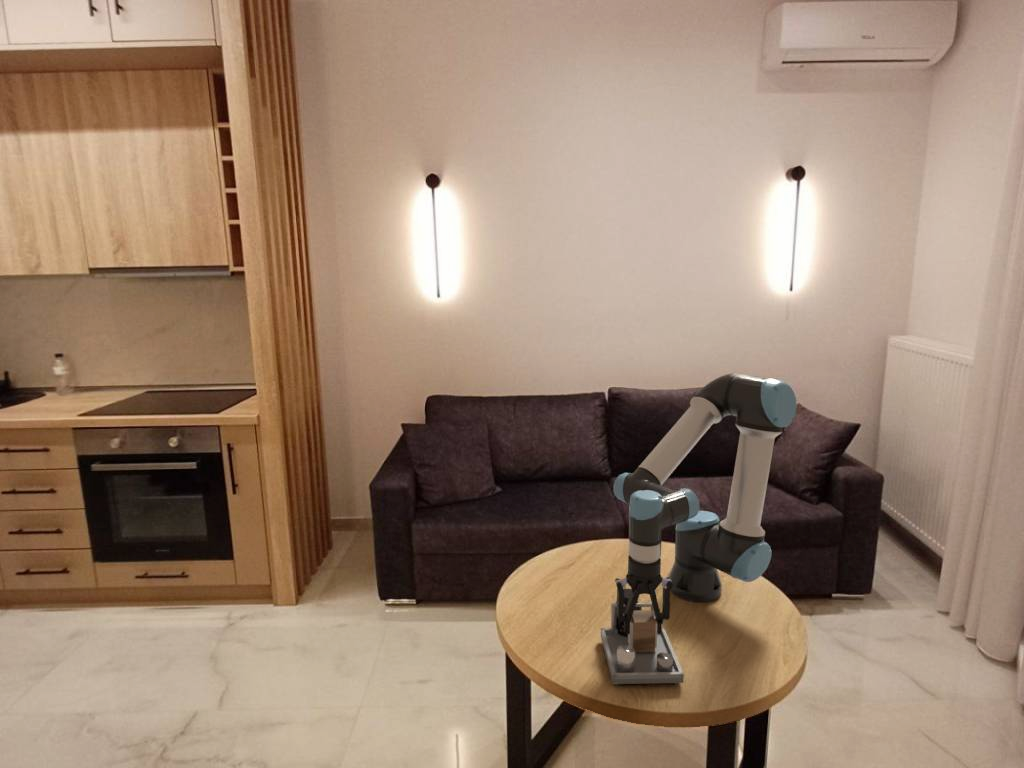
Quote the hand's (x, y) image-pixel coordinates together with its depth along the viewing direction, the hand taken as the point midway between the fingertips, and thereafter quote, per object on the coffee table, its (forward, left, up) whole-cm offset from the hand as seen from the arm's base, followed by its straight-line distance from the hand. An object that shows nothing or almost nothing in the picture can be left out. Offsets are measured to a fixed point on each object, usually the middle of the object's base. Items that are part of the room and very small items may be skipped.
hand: (642, 644), depth 149 cm
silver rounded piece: (+6, +8, -1) cm, 10 cm away
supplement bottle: (+2, -8, -3) cm, 9 cm away
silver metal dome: (-3, +8, -1) cm, 9 cm away
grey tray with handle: (+1, +2, -3) cm, 4 cm away
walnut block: (0, 0, 0) cm, 0 cm away
